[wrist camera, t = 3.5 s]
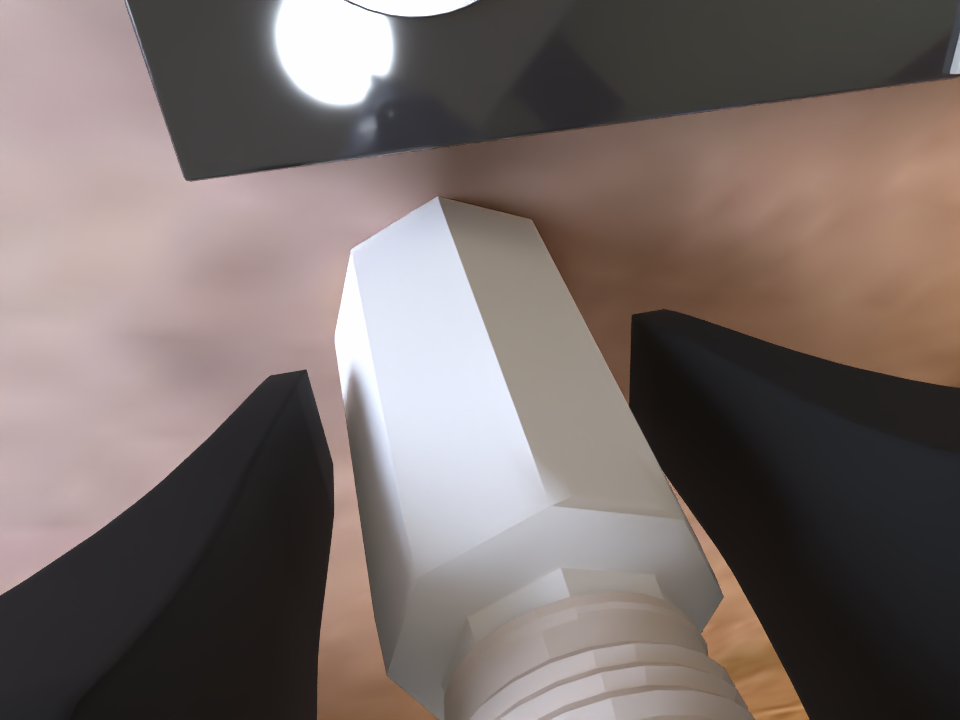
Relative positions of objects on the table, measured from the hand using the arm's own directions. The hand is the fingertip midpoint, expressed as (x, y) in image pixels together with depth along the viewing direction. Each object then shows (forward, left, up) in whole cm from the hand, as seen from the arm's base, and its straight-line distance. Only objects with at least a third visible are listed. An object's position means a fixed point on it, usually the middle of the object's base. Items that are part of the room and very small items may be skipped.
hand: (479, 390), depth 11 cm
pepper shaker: (0, 0, -4) cm, 4 cm away
